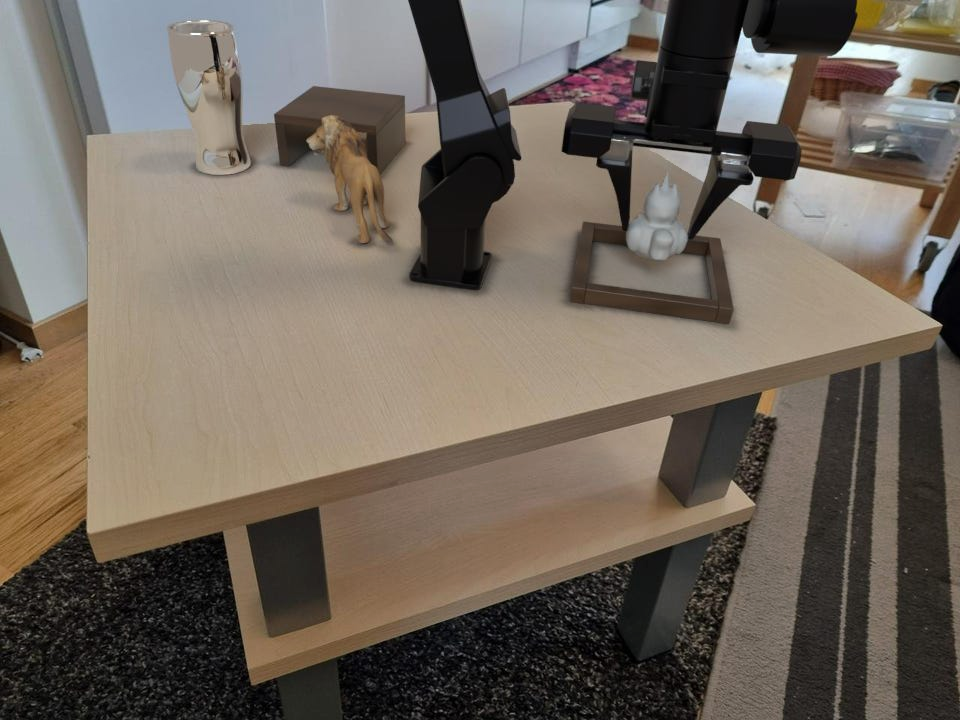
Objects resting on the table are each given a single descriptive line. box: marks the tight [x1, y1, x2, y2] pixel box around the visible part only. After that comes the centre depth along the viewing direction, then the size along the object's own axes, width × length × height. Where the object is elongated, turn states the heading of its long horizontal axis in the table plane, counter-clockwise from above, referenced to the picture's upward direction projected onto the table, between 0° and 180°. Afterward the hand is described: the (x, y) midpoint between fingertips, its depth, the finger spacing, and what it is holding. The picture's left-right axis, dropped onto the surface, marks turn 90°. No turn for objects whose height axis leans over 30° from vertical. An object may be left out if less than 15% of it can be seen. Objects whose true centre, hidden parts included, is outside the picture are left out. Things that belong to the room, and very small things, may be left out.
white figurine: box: [626, 172, 688, 262], centre depth 63 cm, size 5×7×8 cm
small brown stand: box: [273, 85, 407, 175], centre depth 86 cm, size 12×12×6 cm
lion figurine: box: [306, 115, 394, 244], centre depth 71 cm, size 15×5×9 cm, turn 33°
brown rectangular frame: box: [569, 221, 734, 325], centre depth 66 cm, size 14×14×2 cm
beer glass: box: [166, 19, 252, 176], centre depth 79 cm, size 7×7×15 cm
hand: (657, 233), depth 64 cm, fingers closed on white figurine, 5 cm apart
